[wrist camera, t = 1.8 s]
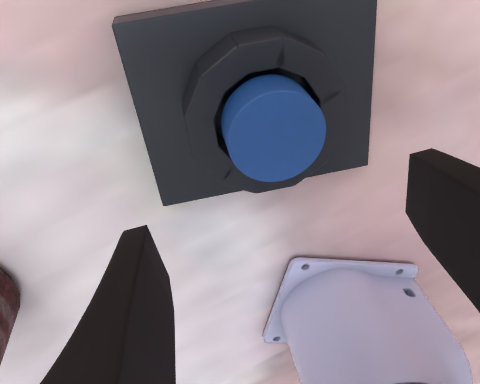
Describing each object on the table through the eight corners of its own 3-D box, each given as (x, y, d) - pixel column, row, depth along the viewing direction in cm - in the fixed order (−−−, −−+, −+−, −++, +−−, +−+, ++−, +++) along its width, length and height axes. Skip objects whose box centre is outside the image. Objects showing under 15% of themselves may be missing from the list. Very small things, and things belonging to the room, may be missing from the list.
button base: (363, -26, 19) (402, -14, 16) (356, 152, 24) (385, 185, 21) (114, 16, 18) (106, 36, 15) (162, 191, 23) (164, 231, 20)
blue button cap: (310, 65, 17) (326, 81, 16) (312, 151, 19) (327, 172, 18) (213, 83, 17) (220, 101, 15) (227, 168, 19) (234, 191, 18)
